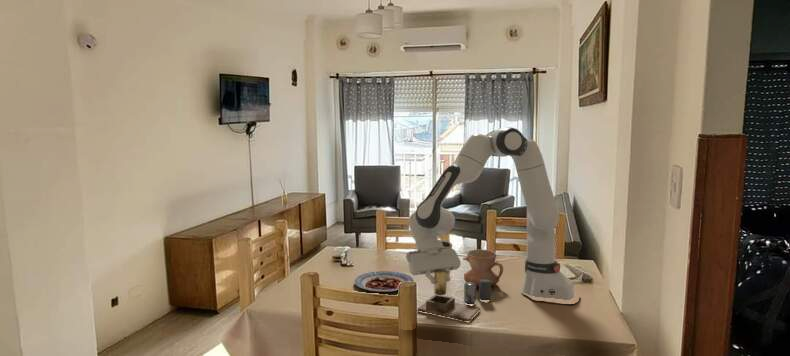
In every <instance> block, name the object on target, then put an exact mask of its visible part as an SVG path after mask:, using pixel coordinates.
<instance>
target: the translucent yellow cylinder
mask: <svg viewBox="0 0 790 356" xmlns="http://www.w3.org/2000/svg"><path fill="white" fill-rule="evenodd" d="M434 277H435V278H436V280H437V282H436V283H434V284H433V288H434V291H433V293H434V295H435V294H437V295H442V296H446V294H447V282H446V278H447V272H446V271H444V270H436V271H435V273H434Z"/></svg>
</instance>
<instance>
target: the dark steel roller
mask: <svg viewBox="0 0 790 356" xmlns="http://www.w3.org/2000/svg"><path fill="white" fill-rule="evenodd" d="M463 288H464V289H463V290H464V291H463V296H464V297H463V303H464V302H465V303H467V304H474V303H475V302H476V303H477V301H476V298H477V296H476V295H477V294H476V293H477V292H476V291H477V290H476V289H477V287H476V284H475V283H473V282H466V281H465V283H464V285H463Z"/></svg>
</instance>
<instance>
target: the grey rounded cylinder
mask: <svg viewBox="0 0 790 356" xmlns="http://www.w3.org/2000/svg"><path fill="white" fill-rule="evenodd" d="M478 288H479V289H478V292H479V293H478V298H479V299H481V300H490V299H491V297H492V296H491V295H492V294H491V293H492V286H491V281H490V280H486V279H483V280H480V285H479V287H478ZM479 299H478V300H479Z"/></svg>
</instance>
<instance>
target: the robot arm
mask: <svg viewBox="0 0 790 356" xmlns="http://www.w3.org/2000/svg"><path fill="white" fill-rule="evenodd" d="M508 156H509V157H511V159H512V160H513V162H514V166H515V170H516V174H517V177H518V182H519V185H520V189H521V193H522V196H523V199H524V202H525V205H526V259H525V261H524V273H525V276H524V281H523V285H522V289H521V291H522V290H523V292H524V293H526V294H528V295H530V296H535V297H543V298H555V299H563V300H570V299H572V298H573V297H574V292H575V287H574V283H573V281H572V280H571V279H570V278H569V277H568V276H566V275H565V274H564V273H563V272H562V271H561V262H557V261H556V245H557V244H556V243H557V242H556V227H557V225H558V224H559V220H560V212H559V208H558V206H557V202H556V199H555V195H554V193H553V190H552V187H551V184H550V181H549V177H548V172H547V168H546V165H545V161H544V158H543V155H542V153H541V149H540V147H539V145H538V143H537V141H535V140H533V139H531V138H526V137H525V136H524V134H523V133H522V132H521V131H520V130H519V129H517V128H515V127H511V126H509V127H501V128H498V129H495V130H492V131H490V132H488V133H487V134H485V135H484V134H482V133H474V134H472V135H470V136H469V138H468V139H467V140H466V141H465V143H464V144H463V146H462V147H461V149H460V151H459V153H458V155H457V156H456V158H455V160H454V161H453V162H452V163H451V165H449V166H448V167H447V168H446V169H445V170H444V171H443V172H442V173H441V175H440V177H439V178H438V180H437V181H436V183H435V184H434V185H433V187H432V189H431V190H430V191H429V193H428V195H427V196H426V197H425V198H424V200H423V201H421V202H420V203H419V204H418V206H417V208H416V210H415V211H414V212H412V213H411V215H410V216H409V218H408V227H409V229H410V233H411V236H412V238H413V240H414V242H415V247H416V250H413V251H412V250H411V251H408V252H407V253H406V254H405V258H406V261H407V262H408V267H409V271H410V274H411V275H412V276H419V275H420V276H421V275H425V277H426V278H427V279H428V280H429V281H430V283H431V284H432V285H434V283H436V282H437V280H436V278H435V276H433V275H432V274H435V271H436V270H444V271H446V272H447V278H446V283H448V282H450V281H451V277H450V274H451V271H456V270H458V269H459V268H460V267H461V264H462V261H461V260H460V257H459V255H458V253H457V252H456V250H455V249H454V248H453V244H452V242H449V241H443V240H441V239H438V237H442V236H444V235H446V234H448V233H450V232H452V230H453V229H454V228H455V225H456V216H455V214H454V213H453V212H452V211H450V210H449V209H446V207H443V203H444V202H445V201H446V198H447V197H448V195H449V194H450V192H451V191H452V189H453V188H454V187H455V186H456V185H460V184H470V183H473V182H475V181H476V180H477V179H478V178H479V177H480V175H481V173H482V172H483V170H484V168H485V166H486V163H487V161H488V160H489V159H490V157H501V158H503V157H505V158H506V157H508Z"/></svg>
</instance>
